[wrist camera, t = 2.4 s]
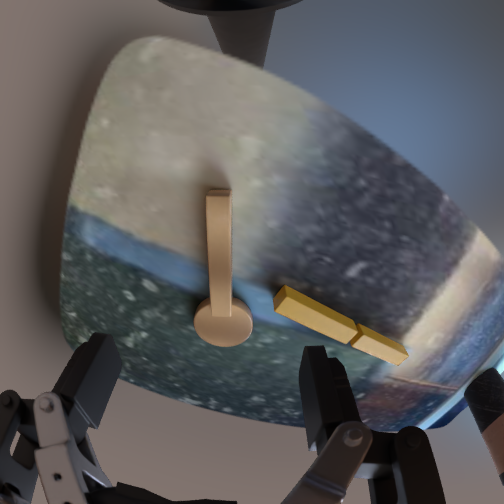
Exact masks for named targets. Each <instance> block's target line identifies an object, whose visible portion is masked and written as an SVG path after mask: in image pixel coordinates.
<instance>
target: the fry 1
mask: <svg viewBox="0 0 504 504" xmlns="http://www.w3.org/2000/svg"><path fill="white" fill-rule="evenodd" d="M273 304H274V311H275V312H277V313H279V314H281V315H283V316H285V317H287V318H290V319H292V320H294V321H296V322H298V323H300V324H302V325H305V326H307V327H309V328H311V329H313V330H315V331H318V332H320V333H322V334H324V335H326V336H329V337H331V338H333V339H335V340H338V341H340V342H342V343H344V344H347V343H348V342H349V341H350V340H351V339H352V338H353V337H354V336H355V335H356V334H357V333H358V330H357V328H356V326H355V323H354V321H353V320H352V319H350V318H348V317H346V316H344V315H342V314H340V313H338V312H336V311H334V310H332V309H330V308H328V307H326V306H325V305H323V304H321V303H319V302H317V301H315V300H313V299H311V298H309V297H307V296H305V295H304V294H302V293H300V292H298V291H296V290H294V289H292V288H290V287H288V286H286V285H284V286H283V287H282V288H281V289H280V291H279V292H278V293H277V295H276V296H275V297H274V298H273Z"/></svg>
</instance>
